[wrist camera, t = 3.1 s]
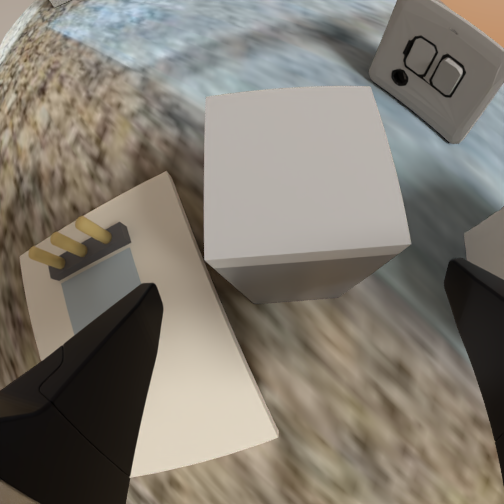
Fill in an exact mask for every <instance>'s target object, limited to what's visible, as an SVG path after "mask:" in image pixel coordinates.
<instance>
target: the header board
mask: <svg viewBox="0 0 504 504" xmlns="http://www.w3.org/2000/svg"><path fill="white" fill-rule="evenodd" d="M19 257H20V264H21V271H22V278H23V284H24V290H25V295H26V301H27V306H28V310H29V315H30V320H31V324H32V328H33V332H34V336H35V340H36V344H37V348H38V352H39V355H40V359H41V361H43V360H44V359H45V358H46V357H48V356H49V355H50V354H51V353H53V352H54V351H55V350H56V349H58V348H59V347H60V346H61V345H63V344H64V343H65V342H67V341H68V340H69V339H70V338H72V337H73V336H74V335H75V334H77V333H78V332H79V331H80V330H82V329H83V328H84V327H85V326H87V325H88V324H89V323H91V322H92V321H93V320H94V319H96V318H97V317H98V316H100V315H101V314H102V313H103V312H105V311H106V310H107V309H109V308H110V307H111V306H113V305H114V304H115V303H116V302H118V301H119V300H120V299H122V298H123V297H124V296H126V295H127V294H128V293H130V292H131V291H132V290H134V289H135V288H136V287H138V286H139V285H140V284H142V283H155V284H156V286H157V288H158V291H159V294H160V297H161V300H162V303H163V308H164V310H163V318H162V324H161V332H160V339H159V346H158V352H157V357H156V361H155V365H154V369H153V373H152V377H151V382H150V386H149V390H148V394H147V399H146V403H145V407H144V412H143V416H142V421H141V425H140V430H139V435H138V440H137V444H136V449H135V454H134V459H133V465H132V470H131V475H130V477H136V476H142V475H147V474H153V473H158V472H162V471H167V470H172V469H176V468H180V467H185V466H189V465H193V464H197V463H200V462H204V461H208V460H211V459H215V458H218V457H222V456H225V455H228V454H232V453H235V452H238V451H241V450H244V449H247V448H250V447H253V446H256V445H259V444H262V443H265V442H267V441H270V440H273V439H275V438H278V435H279V431H278V429H277V427H276V424H275V422H274V420H273V418H272V416H271V414H270V412H269V410H268V408H267V405H266V403H265V401H264V399H263V397H262V395H261V392H260V390H259V388H258V386H257V384H256V382H255V379H254V377H253V375H252V373H251V370H250V368H249V366H248V364H247V362H246V359H245V357H244V355H243V353H242V350H241V348H240V346H239V343H238V341H237V339H236V337H235V334H234V332H233V330H232V327H231V325H230V323H229V320H228V318H227V316H226V313H225V311H224V308H223V306H222V304H221V301H220V299H219V297H218V294H217V292H216V289H215V287H214V284H213V282H212V280H211V277H210V275H209V272H208V270H207V267H206V265H205V262H204V260H203V257H202V255H201V252H200V250H199V247H198V245H197V242H196V240H195V237H194V235H193V232H192V229H191V227H190V224H189V222H188V219H187V216H186V214H185V211H184V209H183V206H182V203H181V201H180V198H179V195H178V193H177V190H176V187H175V184H174V182H173V179H172V177H171V176H170V175H169V173H168V172H167V171H165V172H163V173H161V174H159V175H157V176H155V177H153V178H151V179H149V180H147V181H145V182H144V183H142V184H140V185H138V186H136V187H134V188H132V189H130V190H128V191H126V192H125V193H123V194H121V195H119V196H117V197H115V198H114V199H112V200H110V201H108V202H106V203H105V204H103V205H101V206H99V207H98V208H96V209H94V210H92V211H91V212H89V213H87V214H85V215H84V216H80V217H79V218H77V220H75V221H74V222H72V223H70V224H69V225H67V226H65V227H64V228H62V229H61V230H59V231H57V232H54V233H53V234H52V235H51V236H49V237H48V238H46V239H45V240H43V241H42V242H40V243H39V244H37V245H36V246H32V247H31V248H30V250H28V251H27V252H25V253H24V254H22V255H21V256H19Z"/></svg>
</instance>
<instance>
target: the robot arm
mask: <svg viewBox="0 0 504 504" xmlns="http://www.w3.org/2000/svg"><path fill="white" fill-rule="evenodd" d="M444 287H445V291H446V294H447V297H448V300H449V303H450V306H451V309H452V312H453V315H454V319H455V322H456V325H457V328H458V330H459V333H460V336H461V338H462V341H463V343H464V346H465V348H466V351H467V353H468V356H469V359H470V362H471V364H472V367H473V370H474V373H475V376H476V379H477V381H478V384H479V388H480V391H481V394H482V397H483V400H484V403H485V407H486V410H487V414H488V417H489V421H490V425H491V428H492V432H493V436H494V440H495V441H496V442H495V445H496V449H497V454H498V458H499V463H500V468H501V473H502V479H503V485H504V280H503V279H501V278H499V277H498V276H496V275H494V274H492V273H490V272H488V271H486V270H484V269H483V268H481V267H479V266H477V265H475V264H473V263H471V262H469V261H467V260H465V259H463V258H454V259H451V260H450V261H449V264H448V268H447V272H446V276H445V280H444ZM163 310H164V308H163V303H162V300H161V297H160V294H159V291H158V288H157V286H156V284H155V283H142V284H140V285H139V286H138V287H136V288H135V289H134V290H132V291H131V292H130V293H128V294H127V295H126V296H124V297H123V298H122V299H120V300H119V301H118V302H116V303H115V304H114V305H113V306H111V307H110V308H109V309H107V310H106V311H105V312H103V313H102V314H101V315H100V316H98V317H97V318H96V319H94V320H93V321H92V322H91V323H89V324H88V325H87V326H85V327H84V328H83V329H82V330H80V331H79V332H78V333H77V334H75V335H74V336H73V337H72V338H70V339H69V340H68V341H67V342H65V343H64V344H63V345H61V346H60V347H59V348H58V349H56V350H55V351H54V352H53V353H51V354H50V355H49V356H48V357H46V358H45V359H44V360H43V361H41V362H40V363H38V364H37V365H36V366H34V367H33V368H31V369H30V370H29V371H27V372H26V373H24V374H23V375H22V376H20V377H19V378H17V379H16V380H15V381H13V382H12V383H10V384H9V385H8V386H6V387H5V388H3V389H2V390H0V504H126V499H127V493H128V487H129V482H130V475H131V470H132V465H133V459H134V454H135V449H136V444H137V440H138V435H139V430H140V425H141V421H142V416H143V412H144V407H145V403H146V399H147V394H148V390H149V386H150V382H151V377H152V373H153V369H154V365H155V361H156V357H157V352H158V346H159V339H160V332H161V324H162V318H163Z"/></svg>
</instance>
